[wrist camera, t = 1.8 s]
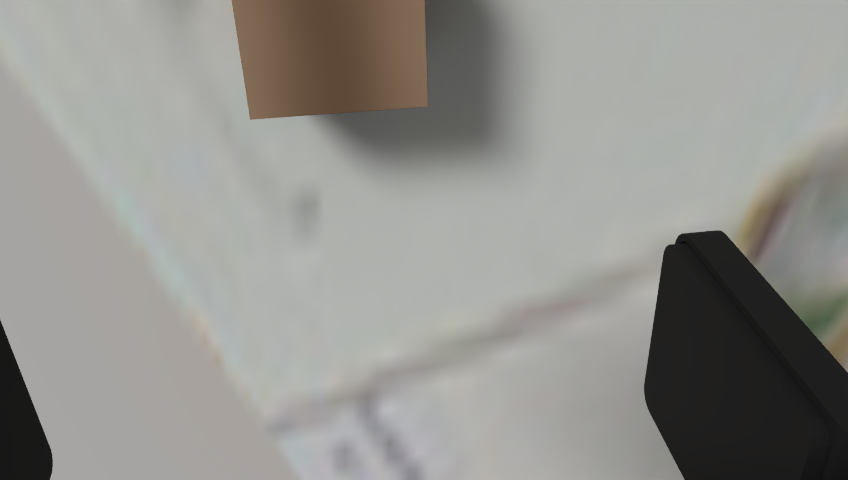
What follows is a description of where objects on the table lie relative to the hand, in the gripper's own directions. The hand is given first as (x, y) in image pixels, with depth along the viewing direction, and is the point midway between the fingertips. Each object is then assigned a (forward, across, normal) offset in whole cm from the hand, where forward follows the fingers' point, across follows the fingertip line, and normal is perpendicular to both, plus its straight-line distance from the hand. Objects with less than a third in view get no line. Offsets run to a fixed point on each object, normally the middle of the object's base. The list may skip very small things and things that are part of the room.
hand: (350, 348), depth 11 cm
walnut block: (+22, 0, 0) cm, 22 cm away
